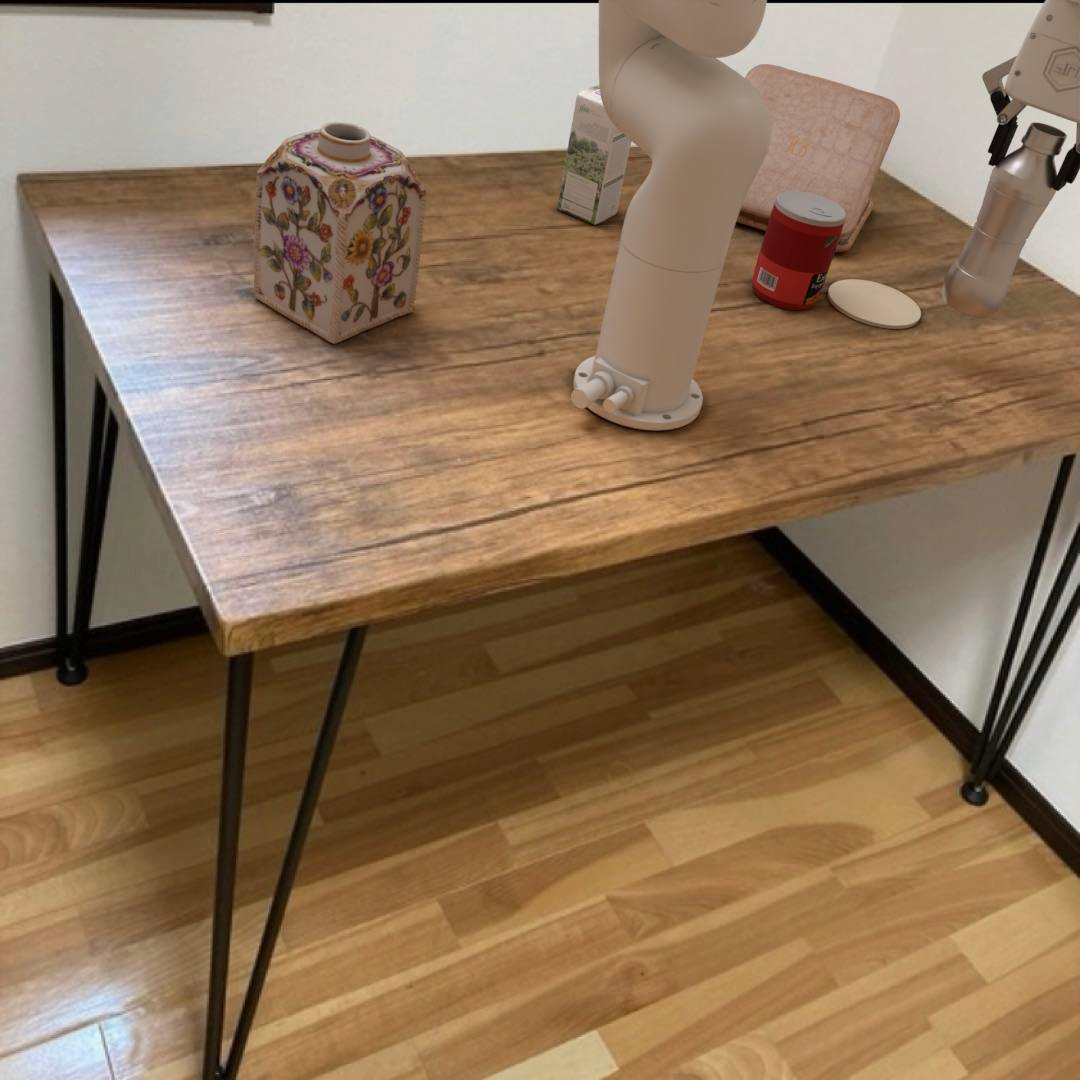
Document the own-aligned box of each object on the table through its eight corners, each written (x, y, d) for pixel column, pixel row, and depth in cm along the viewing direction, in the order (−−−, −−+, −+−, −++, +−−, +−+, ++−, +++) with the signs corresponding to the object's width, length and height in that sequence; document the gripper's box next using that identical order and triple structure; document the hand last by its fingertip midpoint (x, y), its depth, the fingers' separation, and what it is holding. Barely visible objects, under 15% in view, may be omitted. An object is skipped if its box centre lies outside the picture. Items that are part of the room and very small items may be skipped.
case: (688, 212, 158) (720, 86, 148) (734, 164, 174) (765, 47, 164) (843, 263, 154) (885, 136, 144) (875, 209, 170) (916, 91, 160)
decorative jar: (249, 298, 123) (253, 119, 112) (334, 267, 131) (345, 98, 120) (335, 349, 118) (347, 167, 107) (418, 313, 126) (437, 141, 115)
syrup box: (618, 214, 154) (643, 97, 145) (593, 227, 150) (617, 108, 141) (579, 197, 156) (601, 82, 147) (554, 210, 152) (575, 91, 143)
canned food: (816, 317, 140) (846, 227, 134) (747, 300, 141) (773, 209, 134) (818, 289, 147) (847, 201, 140) (752, 272, 147) (778, 184, 140)
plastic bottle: (985, 331, 131) (1075, 149, 119) (926, 305, 133) (1008, 123, 121) (1001, 314, 136) (1089, 136, 124) (944, 288, 138) (1024, 111, 126)
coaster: (899, 339, 140) (900, 335, 139) (812, 301, 144) (813, 297, 143) (933, 309, 147) (934, 305, 147) (849, 273, 151) (850, 270, 151)
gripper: (1007, -37, 115) (934, 152, 126) (1193, 22, 109) (1100, 215, 120) (1030, -44, 120) (959, 137, 131) (1209, 12, 114) (1119, 198, 125)
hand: (1027, 173), depth 125 cm, fingers closed on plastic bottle, 6 cm apart
